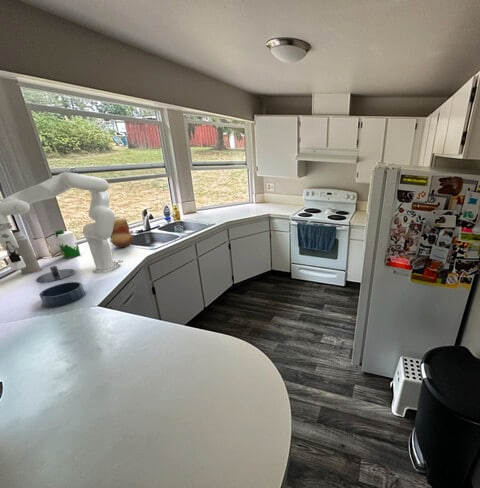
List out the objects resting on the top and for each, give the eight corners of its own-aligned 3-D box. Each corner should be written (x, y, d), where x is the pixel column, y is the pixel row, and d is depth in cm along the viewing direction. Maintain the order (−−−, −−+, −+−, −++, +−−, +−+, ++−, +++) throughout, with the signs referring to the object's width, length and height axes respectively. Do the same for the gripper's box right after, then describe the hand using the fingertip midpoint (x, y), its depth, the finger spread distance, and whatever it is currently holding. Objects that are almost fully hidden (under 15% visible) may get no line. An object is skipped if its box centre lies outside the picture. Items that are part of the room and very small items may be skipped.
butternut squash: (117, 250, 196) (108, 220, 187) (110, 247, 202) (101, 217, 194) (137, 245, 207) (130, 216, 198) (130, 242, 213) (123, 214, 205)
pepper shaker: (20, 266, 133) (12, 249, 130) (27, 266, 133) (19, 250, 130) (10, 269, 130) (3, 252, 126) (17, 270, 129) (10, 253, 126)
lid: (71, 268, 166) (68, 259, 164) (78, 275, 157) (75, 266, 155) (34, 277, 154) (30, 267, 151) (40, 286, 145) (35, 275, 142)
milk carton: (62, 256, 184) (52, 230, 177) (78, 252, 191) (69, 227, 184) (66, 259, 179) (56, 232, 172) (82, 255, 186) (73, 229, 179)
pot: (80, 288, 143) (77, 279, 141) (88, 297, 135) (85, 287, 133) (41, 300, 132) (36, 290, 129) (47, 311, 123) (42, 300, 121)
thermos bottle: (37, 267, 166) (20, 227, 156) (43, 270, 163) (26, 229, 153) (20, 272, 159) (1, 231, 149) (25, 275, 156) (6, 233, 146)
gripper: (14, 228, 122) (29, 262, 128) (9, 222, 131) (23, 254, 137) (-11, 232, 116) (6, 267, 122) (-14, 225, 125) (2, 258, 131)
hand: (15, 259), depth 130 cm, fingers closed on pepper shaker, 5 cm apart
